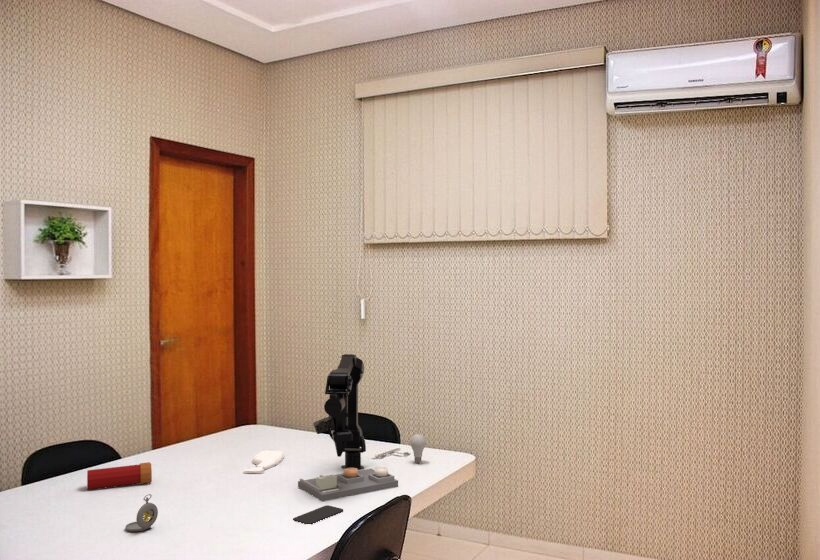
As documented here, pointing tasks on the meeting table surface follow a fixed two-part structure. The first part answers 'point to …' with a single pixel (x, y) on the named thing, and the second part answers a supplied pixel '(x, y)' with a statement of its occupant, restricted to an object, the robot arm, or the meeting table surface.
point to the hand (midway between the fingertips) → (339, 456)
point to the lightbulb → (417, 446)
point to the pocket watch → (141, 523)
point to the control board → (349, 485)
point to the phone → (318, 514)
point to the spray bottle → (265, 461)
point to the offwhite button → (381, 471)
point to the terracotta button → (350, 472)
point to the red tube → (119, 476)
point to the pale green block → (327, 482)
